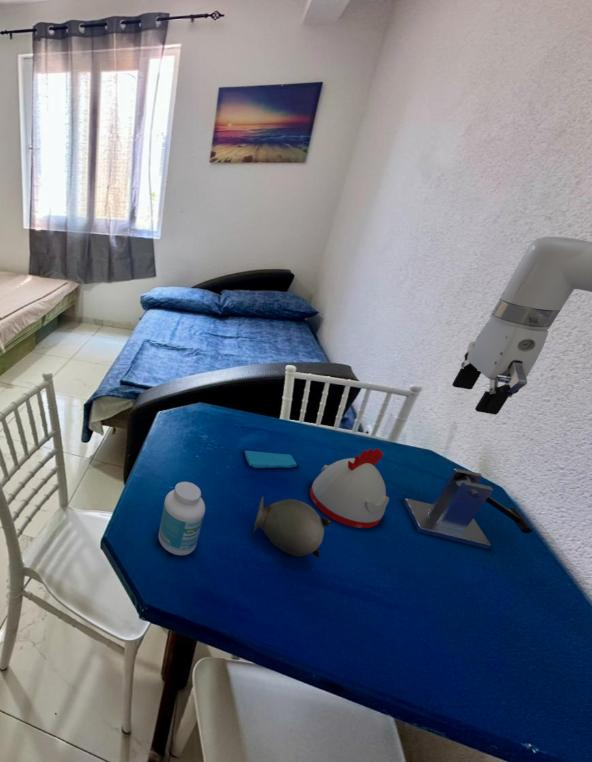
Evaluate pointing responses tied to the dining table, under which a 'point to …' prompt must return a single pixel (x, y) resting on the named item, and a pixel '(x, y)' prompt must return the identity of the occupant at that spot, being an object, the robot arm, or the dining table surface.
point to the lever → (502, 508)
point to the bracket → (453, 511)
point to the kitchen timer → (352, 490)
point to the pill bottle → (182, 519)
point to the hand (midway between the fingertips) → (472, 399)
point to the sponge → (269, 460)
